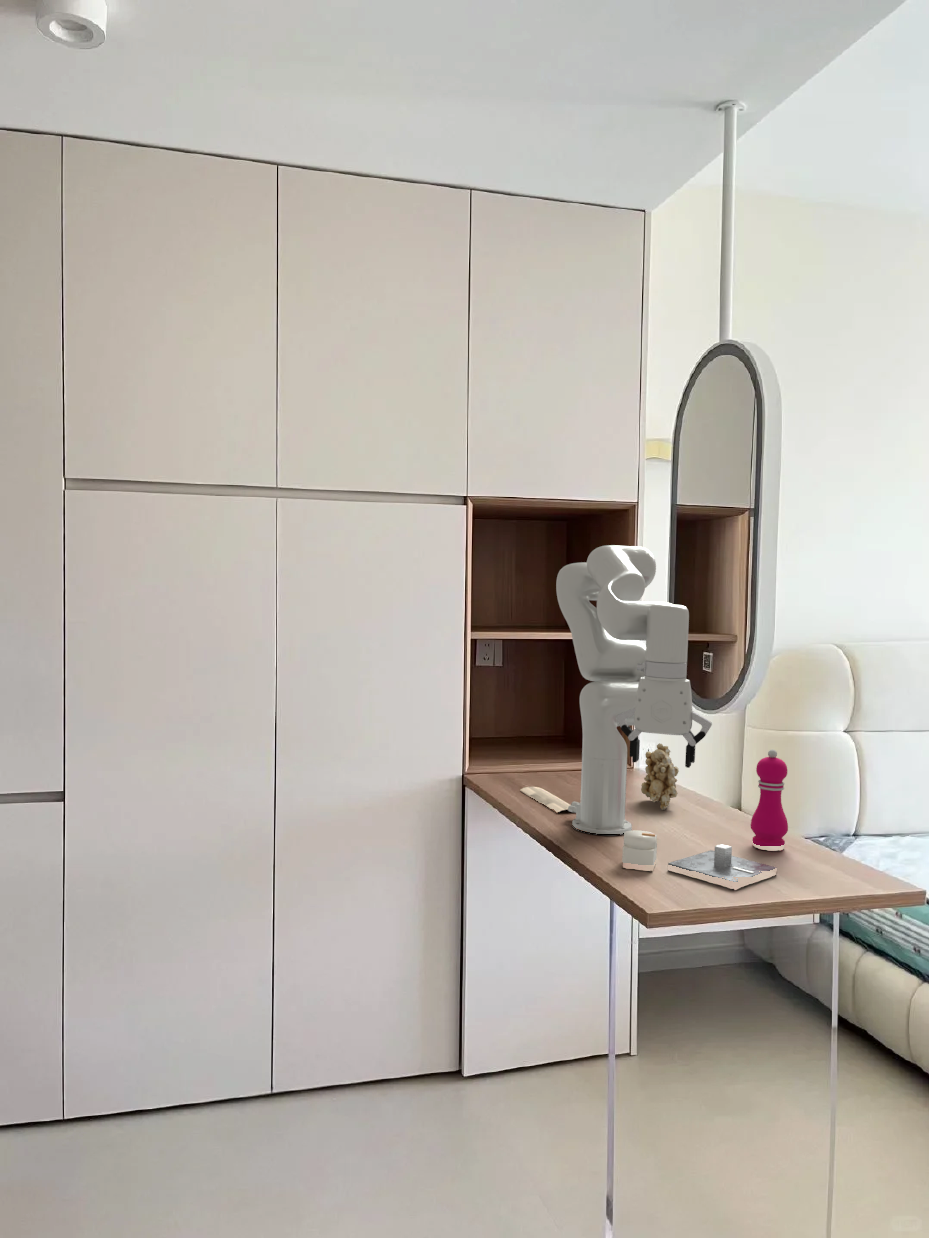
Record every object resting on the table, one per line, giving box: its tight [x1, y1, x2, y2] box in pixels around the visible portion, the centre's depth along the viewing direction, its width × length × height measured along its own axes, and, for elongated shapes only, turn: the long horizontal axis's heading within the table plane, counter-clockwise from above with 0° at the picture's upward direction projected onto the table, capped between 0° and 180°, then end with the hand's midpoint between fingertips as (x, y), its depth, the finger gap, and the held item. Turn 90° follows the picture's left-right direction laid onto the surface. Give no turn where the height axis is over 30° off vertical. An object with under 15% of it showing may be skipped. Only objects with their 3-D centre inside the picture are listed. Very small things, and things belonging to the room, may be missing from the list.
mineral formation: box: [640, 743, 680, 811], centre depth 231 cm, size 8×13×15 cm, turn 6°
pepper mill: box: [750, 749, 789, 846], centre depth 197 cm, size 7×7×20 cm
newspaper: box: [520, 786, 571, 813], centre depth 232 cm, size 24×7×2 cm, turn 17°
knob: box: [621, 829, 658, 865], centre depth 182 cm, size 6×6×6 cm
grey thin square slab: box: [667, 843, 778, 882], centre depth 179 cm, size 14×14×5 cm
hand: (661, 763), depth 180 cm, fingers open, 9 cm apart
